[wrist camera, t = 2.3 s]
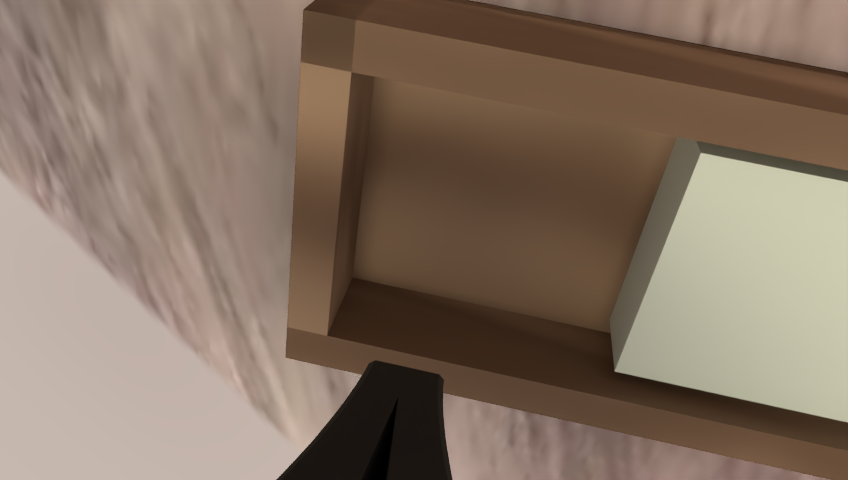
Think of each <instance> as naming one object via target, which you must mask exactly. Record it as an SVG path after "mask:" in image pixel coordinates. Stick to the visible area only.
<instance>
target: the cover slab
mask: <svg viewBox="0 0 848 480" xmlns="http://www.w3.org/2000/svg"><path fill="white" fill-rule="evenodd" d="M610 330H611V340H612V351H613V361H614V371H615V372H619V373H624V374H629V375H633V376H638V377H642V378H647V379H651V380H656V381H661V382H665V383H670V384H674V385H679V386H683V387H688V388H693V389H697V390H702V391H706V392H711V393H715V394H720V395H725V396H729V397H734V398H738V399H743V400H747V401H752V402H757V403H761V404H766V405H770V406H775V407H780V408H784V409H789V410H793V411H798V412H802V413H807V414H812V415H816V416H821V417H825V418H830V419H834V420H839V421H844V422H848V171H847V170H842V169H837V168H832V167H827V166H822V165H817V164H812V163H807V162H802V161H797V160H792V159H787V158H782V157H777V156H771V155H766V154H761V153H756V152H751V151H746V150H741V149H736V148H731V147H726V146H721V145H716V144H711V143H706V142H701V141H696V140H691V139H686V138H681V137H677V139H676V142H675V145H674V147H673V150H672V153H671V155H670V158H669V161H668V163H667V166H666V169H665V172H664V174H663V177H662V180H661V182H660V185H659V188H658V190H657V193H656V196H655V199H654V201H653V204H652V207H651V209H650V212H649V215H648V217H647V220H646V223H645V226H644V228H643V231H642V234H641V236H640V239H639V242H638V244H637V247H636V250H635V253H634V255H633V258H632V261H631V263H630V266H629V269H628V271H627V274H626V277H625V280H624V282H623V285H622V288H621V290H620V293H619V296H618V298H617V301H616V304H615V307H614V309H613V312H612V315H611V317H610Z"/></svg>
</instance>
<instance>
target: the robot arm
mask: <svg viewBox="0 0 848 480" xmlns="http://www.w3.org/2000/svg"><path fill="white" fill-rule="evenodd" d="M443 385H444V379H443V378H442V377H441V376H440V374H436V373H432V372H427V371H423V370H418V369H414V368H409V367H405V366H400V365H396V364H391V363H387V362H382V361H378V360H374V361H372V362H370V363H369V364H368V366H367V368H366V369H365V371H364V373H363V375H362V376H361V378H360V380H359V381H358V383H357V384H356V386H355V387H354V389H353V390H352V392H351V393H350V395H349V396H348V397H347V399H346V400H345V401H344V403H343V404H342V405H341V407H340V408H339V410H338V411H337V412H336V413H335V415H334V416H333V417H332V418H331V419H330V421H329V422H328V423H327V424H326V426H325V427H324V428H323V429H322V431H321V432H320V433H319V434H318V435H317V437H316V438H315V439H314V440H313V441H312V442H311V444H310V445H309V446H308V447H307V448H306V449H305V450H304V451H303V452H302V453H301V454H300V455H299V457H298V458H297V459H296V460H295V461H294V462H293V463H292V464H291V465H290V466H289V467H288V468H287V469H286V471H285V472H284V473H283V474H282V475H281V476H280V477H279V478H278V479H277V480H452V475H451V470H450V464H449V458H448V452H447V446H446V438H445V429H444V418H443Z"/></svg>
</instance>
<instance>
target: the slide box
mask: <svg viewBox="0 0 848 480" xmlns="http://www.w3.org/2000/svg"><path fill="white" fill-rule="evenodd" d="M677 137H681V138H686V139H691V140H696V141H701V142H706V143H711V144H716V145H721V146H726V147H731V148H736V149H741V150H746V151H751V152H756V153H761V154H766V155H771V156H777V157H782V158H787V159H792V160H797V161H802V162H807V163H812V164H817V165H822V166H827V167H832V168H837V169H842V170H847V171H848V73H846V72H841V71H836V70H830V69H825V68H820V67H815V66H809V65H804V64H799V63H794V62H788V61H783V60H778V59H773V58H767V57H762V56H757V55H752V54H747V53H741V52H736V51H731V50H726V49H720V48H715V47H710V46H705V45H699V44H694V43H689V42H684V41H678V40H673V39H668V38H663V37H657V36H652V35H647V34H642V33H636V32H631V31H626V30H621V29H615V28H610V27H605V26H600V25H594V24H589V23H584V22H579V21H573V20H568V19H563V18H558V17H552V16H547V15H542V14H537V13H531V12H526V11H521V10H516V9H510V8H505V7H500V6H495V5H489V4H484V3H479V2H474V1H468V0H315V1H313V2H312V3H311V4H310V5H309V6H307V7H306V8H305V9H304V10H303V28H302V48H301V67H300V87H299V106H298V126H297V145H296V165H295V184H294V204H293V224H292V243H291V263H290V282H289V302H288V321H287V341H286V358H290V359H294V360H299V361H303V362H308V363H312V364H317V365H321V366H326V367H330V368H335V369H339V370H344V371H348V372H353V373H357V374H362V375H363V373H364V371H365V369H366V368H367V366H368V364H369V363H370V362H372V361H374V360H378V361H382V362H387V363H391V364H396V365H400V366H405V367H409V368H414V369H418V370H423V371H427V372H432V373H436V374H440V376H441V377H442V378H443V379H444V385H443V393H447V394H451V395H455V396H460V397H464V398H469V399H473V400H478V401H482V402H487V403H491V404H496V405H500V406H505V407H509V408H514V409H518V410H523V411H527V412H532V413H536V414H540V415H545V416H549V417H554V418H558V419H563V420H567V421H572V422H576V423H581V424H585V425H590V426H594V427H599V428H603V429H608V430H612V431H616V432H621V433H625V434H630V435H634V436H639V437H643V438H648V439H652V440H657V441H661V442H666V443H670V444H675V445H679V446H684V447H688V448H693V449H697V450H701V451H706V452H710V453H715V454H719V455H724V456H728V457H733V458H737V459H742V460H746V461H751V462H755V463H760V464H764V465H769V466H773V467H777V468H782V469H786V470H791V471H795V472H800V473H804V474H809V475H813V476H818V477H822V478H827V479H831V480H848V422H844V421H839V420H834V419H830V418H825V417H821V416H816V415H812V414H807V413H802V412H798V411H793V410H789V409H784V408H780V407H775V406H770V405H766V404H761V403H757V402H752V401H747V400H743V399H738V398H734V397H729V396H725V395H720V394H715V393H711V392H706V391H702V390H697V389H693V388H688V387H683V386H679V385H674V384H670V383H665V382H661V381H656V380H651V379H647V378H642V377H638V376H633V375H629V374H624V373H619V372H615V371H614V361H613V351H612V340H611V330H610V317H611V315H612V312H613V309H614V307H615V304H616V301H617V298H618V296H619V293H620V290H621V288H622V285H623V282H624V280H625V277H626V274H627V271H628V269H629V266H630V263H631V261H632V258H633V255H634V253H635V250H636V247H637V244H638V242H639V239H640V236H641V234H642V231H643V228H644V226H645V223H646V220H647V217H648V215H649V212H650V209H651V207H652V204H653V201H654V199H655V196H656V193H657V190H658V188H659V185H660V182H661V180H662V177H663V174H664V172H665V169H666V166H667V163H668V161H669V158H670V155H671V153H672V150H673V147H674V145H675V142H676V139H677Z"/></svg>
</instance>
